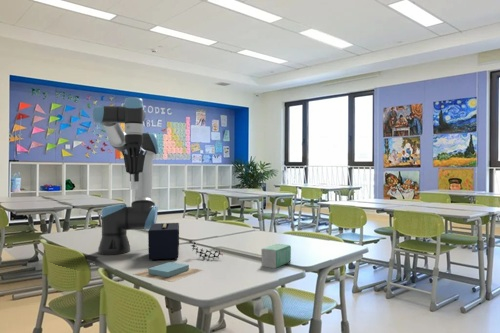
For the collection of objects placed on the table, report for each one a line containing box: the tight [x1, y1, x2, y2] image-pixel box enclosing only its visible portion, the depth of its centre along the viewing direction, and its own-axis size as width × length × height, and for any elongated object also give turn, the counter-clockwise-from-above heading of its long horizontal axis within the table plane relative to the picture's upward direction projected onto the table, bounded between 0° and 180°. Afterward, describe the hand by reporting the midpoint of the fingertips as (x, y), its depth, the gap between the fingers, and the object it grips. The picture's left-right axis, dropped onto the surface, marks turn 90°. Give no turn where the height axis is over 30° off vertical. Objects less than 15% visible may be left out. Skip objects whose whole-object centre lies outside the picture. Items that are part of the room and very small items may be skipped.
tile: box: [147, 261, 190, 277], centre depth 151 cm, size 2×12×10 cm
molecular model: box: [190, 240, 224, 260], centre depth 175 cm, size 6×15×8 cm, turn 82°
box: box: [261, 243, 292, 269], centre depth 165 cm, size 7×14×8 cm, turn 147°
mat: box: [133, 267, 204, 283], centre depth 151 cm, size 20×18×1 cm
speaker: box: [147, 222, 180, 261], centre depth 180 cm, size 22×13×15 cm, turn 9°
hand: (134, 189), depth 165 cm, fingers closed
